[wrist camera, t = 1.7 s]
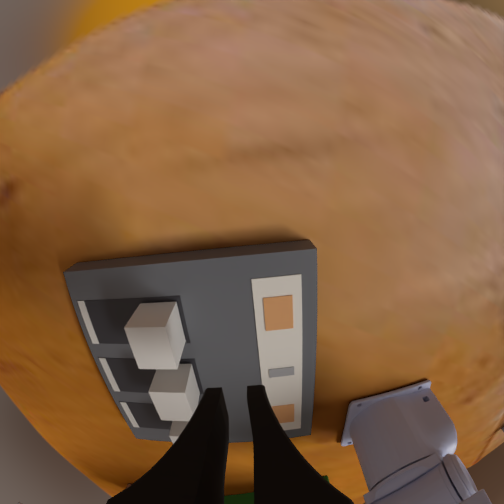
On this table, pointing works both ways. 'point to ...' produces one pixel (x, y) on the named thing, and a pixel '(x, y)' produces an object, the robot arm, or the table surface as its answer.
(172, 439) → the tab
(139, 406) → the switch board
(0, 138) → the table surface
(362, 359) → the table surface
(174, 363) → the tab
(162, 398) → the tab middle
